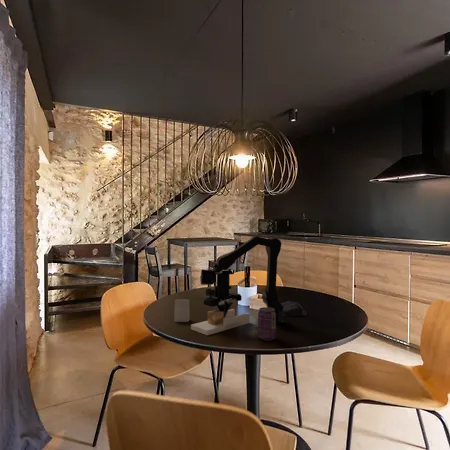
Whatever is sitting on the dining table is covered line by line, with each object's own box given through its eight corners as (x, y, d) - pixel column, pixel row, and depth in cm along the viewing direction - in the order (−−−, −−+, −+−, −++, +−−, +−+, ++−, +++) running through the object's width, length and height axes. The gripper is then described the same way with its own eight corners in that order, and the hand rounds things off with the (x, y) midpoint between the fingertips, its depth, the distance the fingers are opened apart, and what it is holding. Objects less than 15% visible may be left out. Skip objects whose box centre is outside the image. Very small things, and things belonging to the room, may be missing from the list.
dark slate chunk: (302, 306, 192) (302, 298, 192) (307, 317, 171) (307, 308, 171) (275, 306, 194) (275, 297, 194) (276, 316, 172) (276, 307, 172)
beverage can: (274, 335, 142) (274, 306, 142) (277, 341, 135) (277, 311, 134) (257, 335, 141) (257, 307, 141) (259, 341, 134) (259, 311, 134)
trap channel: (249, 322, 160) (249, 313, 160) (207, 335, 142) (207, 324, 142) (233, 318, 168) (233, 308, 168) (190, 329, 150) (190, 319, 150)
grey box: (188, 321, 161) (188, 300, 161) (174, 321, 161) (174, 300, 161) (189, 319, 165) (189, 298, 165) (175, 319, 165) (175, 298, 165)
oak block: (223, 323, 152) (223, 311, 152) (215, 325, 149) (215, 313, 149) (216, 320, 156) (216, 309, 156) (207, 322, 153) (207, 311, 153)
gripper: (226, 279, 168) (226, 311, 168) (196, 284, 155) (196, 318, 155) (242, 282, 160) (242, 315, 160) (212, 287, 147) (212, 323, 147)
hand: (223, 318), depth 156 cm, fingers closed
